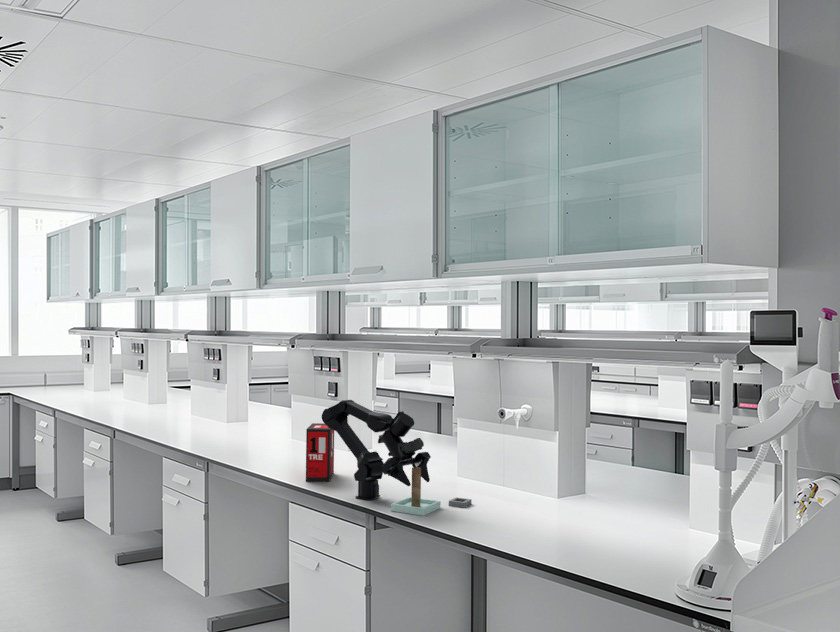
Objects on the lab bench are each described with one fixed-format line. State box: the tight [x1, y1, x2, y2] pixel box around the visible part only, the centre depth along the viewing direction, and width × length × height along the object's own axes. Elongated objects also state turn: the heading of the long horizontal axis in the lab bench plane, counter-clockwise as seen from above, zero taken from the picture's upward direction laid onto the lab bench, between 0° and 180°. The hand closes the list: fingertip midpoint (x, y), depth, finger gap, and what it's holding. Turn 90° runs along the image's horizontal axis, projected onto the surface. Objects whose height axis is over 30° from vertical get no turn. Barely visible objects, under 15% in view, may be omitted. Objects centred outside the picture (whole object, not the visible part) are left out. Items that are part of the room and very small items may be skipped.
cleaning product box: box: [305, 422, 335, 483], centre depth 302 cm, size 16×9×20 cm, turn 0°
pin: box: [411, 466, 422, 507], centre depth 253 cm, size 3×3×12 cm
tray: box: [390, 496, 441, 517], centre depth 253 cm, size 12×12×2 cm
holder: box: [448, 497, 472, 509], centre depth 260 cm, size 6×6×2 cm
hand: (419, 483), depth 252 cm, fingers open, 9 cm apart
